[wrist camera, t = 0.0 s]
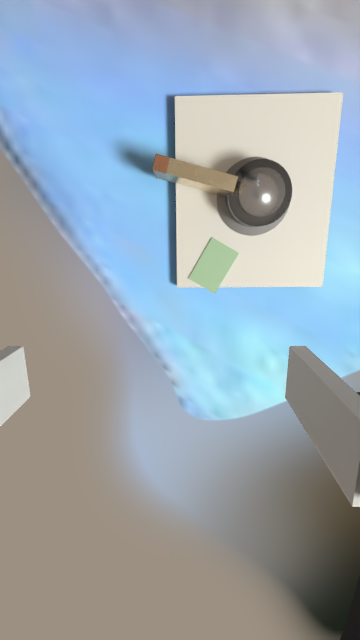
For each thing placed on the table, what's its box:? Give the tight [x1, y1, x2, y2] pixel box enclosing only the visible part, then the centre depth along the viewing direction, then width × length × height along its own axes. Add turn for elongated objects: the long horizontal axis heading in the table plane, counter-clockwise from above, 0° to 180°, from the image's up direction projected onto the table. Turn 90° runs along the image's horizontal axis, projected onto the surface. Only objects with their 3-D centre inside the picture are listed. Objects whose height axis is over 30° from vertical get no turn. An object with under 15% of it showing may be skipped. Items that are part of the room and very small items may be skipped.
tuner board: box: [175, 92, 343, 293], centre depth 39 cm, size 23×19×1 cm
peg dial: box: [152, 154, 292, 227], centre depth 35 cm, size 16×7×4 cm, turn 76°
